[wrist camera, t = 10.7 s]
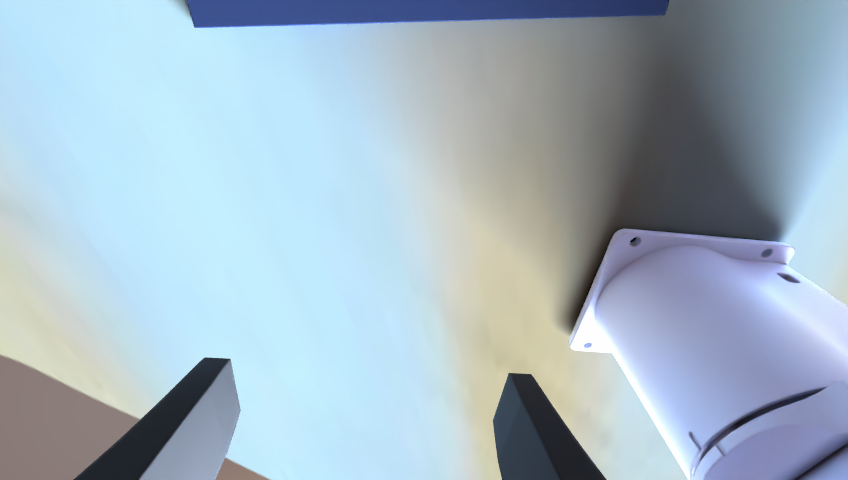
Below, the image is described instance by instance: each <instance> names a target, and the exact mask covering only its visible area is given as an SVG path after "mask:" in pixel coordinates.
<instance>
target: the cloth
mask: <svg viewBox="0 0 848 480" xmlns="http://www.w3.org/2000/svg"><path fill="white" fill-rule="evenodd" d="M187 3H188V7H189V10H190V14H191V17H192V20H193V24H194V27H195V28H214V27H251V26H288V25H325V24H361V23H398V22H435V21H472V20H508V19H545V18H582V17H619V16H655V15H665V14H666V11H667V7H668V3H669V0H187Z"/></svg>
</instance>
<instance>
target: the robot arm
mask: <svg viewBox="0 0 848 480" xmlns="http://www.w3.org/2000/svg"><path fill="white" fill-rule="evenodd" d="M635 237H637V238H636V239H635V241H633V242H630V241H631V240H632V239H633V238H635ZM794 252H795V249H794V247H793V246H791V245H789V244H787V243H783V242H772V241H760V240H749V239H738V238H727V237H716V236H704V235H693V234H682V233H671V232H659V231H648V230H637V229H621V230H618V231H617V232H616V233H615V234H614V235H613V237H612V239H611V242H610V244H609V246H608V249H607V251H606V253H605V256H604V258H603V261H602V263H601V265H600V268H599V270H598V272H597V275H596V277H595V279H594V282H593V284H592V286H591V289H590V291H589V294H588V296H587V298H586V301H585V303H584V305H583V308H582V310H581V312H580V315H579V317H578V320H577V322H576V324H575V327H574V329H573V331H572V334H571V336H570V338H569V345H570V347H571V348H572V349H573V350H579V351H596V352H612V353H613V355H614V356H615V358H616V360H617V361H618V363H619V365H620V366H621V368H622V370H623V371H624V373H625V375H626V376H627V378H628V380H629V381H630V383H631V385H632V386H633V388H634V390H635V391H636V393H637V395H638V396H639V398H640V400H641V401H642V403H643V405H644V406H645V408H646V410H647V411H648V413H649V415H650V416H651V418H652V420H653V421H654V423H655V425H656V426H657V428H658V430H659V431H660V433H661V434H662V436H663V438H664V439H665V441H666V443H667V444H668V446H669V448H670V449H671V451H672V453H673V454H674V456H675V458H676V459H677V461H678V463H679V464H680V466H681V468H682V469H683V471H684V473H685V474H686V476H687V478H688V479H689V480H848V306H847V305H846V304H844V303H843V302H841V301H840V300H838V299H837V298H835V297H834V296H832V295H831V294H829V293H828V292H826V291H825V290H823V289H822V288H820V287H819V286H817V285H816V284H814V283H813V282H811V281H810V280H808V279H807V278H805V277H804V276H802V275H801V274H799V273H798V272H796V271H795V270H793V269H792V268H790V267H789V266H787V265H786V264H787V263H788V262H789V260H790V259H791V257H792V256H793V254H794ZM586 342H587V343H586ZM239 414H240V406H239V401H238V395H237V390H236V385H235V380H234V375H233V370H232V365H231V360H230V359H223V358H204V359H203V360H201V361H200V362H199V363H198V364H197V365H196V366H195V367H194V368H193V369H192V370H191V371H190V372H189V373H188V374H187V375H186V376H185V377H184V378H183V379H182V380H181V381H180V382H179V383H178V384H177V385H176V386H175V387H174V388H173V389H172V390H171V391H170V392H169V393H168V394H167V395H166V396H165V397H164V398H163V399H162V400H161V401H160V402H159V403H157V404H156V405H155V406H154V407H153V408H152V409H151V410H150V411H149V412H148V413H147V414H146V415H145V416H144V417H143V418H142V419H141V420H140V421H138V422H137V423H136V424H135V425H134V426H133V427H132V428H131V429H130V430H129V431H128V432H127V433H126V434H125V435H124V436H122V437H121V438H120V439H119V440H118V441H117V442H116V443H115V444H114V445H113V446H111V447H110V448H109V449H108V450H107V451H106V452H105V453H104V454H102V455H101V456H100V457H99V458H98V459H97V460H96V461H94V462H93V463H92V464H91V465H90V466H89V467H88V468H86V469H85V470H84V471H83V472H82V473H81V474H80V475H78V476H77V477H76V478H75V479H74V480H215V479H216V476H217V474H218V472H219V470H220V468H221V466H222V463H223V461H224V459H225V456H226V454H227V451H228V448H229V445H230V442H231V439H232V436H233V433H234V430H235V427H236V423H237V420H238V417H239ZM493 425H494V433H495V442H496V449H497V457H498V463H499V467H500V472H501V476H502V480H606V478H605V477H604V476H603V474H602V473H601V472H600V471H599V469H598V468H597V467H596V465H595V464H594V463H593V461H592V460H591V459H590V457H589V456H588V455H587V453H586V452H585V451H584V449H583V448H582V447H581V445H580V444H579V442H578V441H577V440H576V438H575V437H574V436H573V434H572V433H571V431H570V430H569V429H568V427H567V426H566V424H565V423H564V421H563V420H562V419H561V417H560V416H559V414H558V413H557V411H556V410H555V408H554V407H553V406H552V404H551V403H550V401H549V400H548V398H547V397H546V395H545V394H544V392H543V391H542V389H541V388H540V386H539V385H538V383H537V382H536V380H535V379H534V377H533V376H532V375H531V374H516V373H509V374H508V377H507V380H506V383H505V386H504V389H503V392H502V395H501V398H500V401H499V404H498V407H497V410H496V413H495V416H494V419H493Z"/></svg>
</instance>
